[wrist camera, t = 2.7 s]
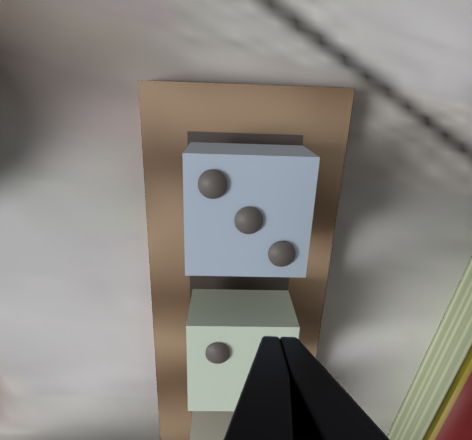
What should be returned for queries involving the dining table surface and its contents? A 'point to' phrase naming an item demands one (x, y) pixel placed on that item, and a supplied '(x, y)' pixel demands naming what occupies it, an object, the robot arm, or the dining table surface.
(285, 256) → the tile three
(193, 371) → the tile two
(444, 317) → the hardcover book
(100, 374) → the dining table surface
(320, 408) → the robot arm
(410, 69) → the dining table surface
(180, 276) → the wooden plank tray
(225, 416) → the tile one
